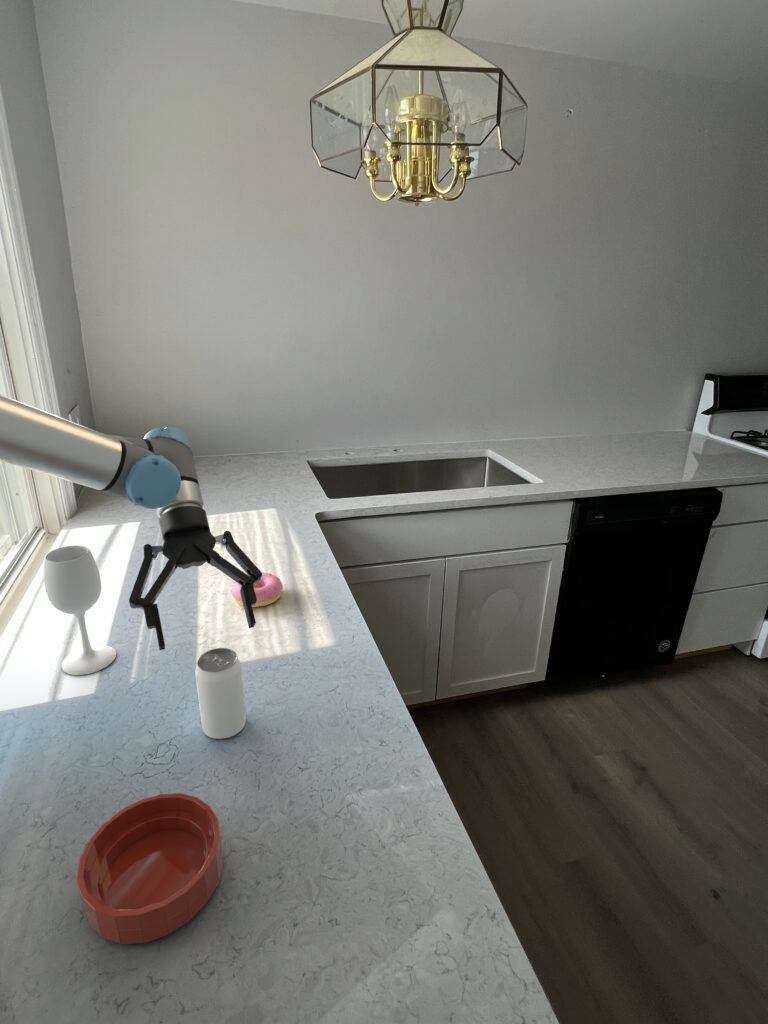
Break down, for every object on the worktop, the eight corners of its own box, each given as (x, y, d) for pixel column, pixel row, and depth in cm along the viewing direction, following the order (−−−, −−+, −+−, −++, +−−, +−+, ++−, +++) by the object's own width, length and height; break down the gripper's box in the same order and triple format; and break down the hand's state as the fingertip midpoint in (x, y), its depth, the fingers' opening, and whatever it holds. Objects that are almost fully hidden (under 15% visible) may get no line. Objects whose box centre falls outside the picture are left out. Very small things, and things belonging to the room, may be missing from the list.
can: (225, 705, 89) (218, 641, 84) (255, 720, 86) (249, 654, 81) (193, 730, 83) (183, 663, 79) (224, 747, 80) (216, 678, 76)
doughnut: (282, 583, 127) (281, 566, 125) (284, 607, 117) (283, 590, 115) (232, 587, 124) (231, 570, 123) (231, 612, 114) (229, 595, 113)
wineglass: (68, 682, 93) (42, 570, 86) (57, 657, 99) (32, 551, 92) (122, 662, 98) (102, 555, 91) (108, 640, 105) (89, 538, 97)
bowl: (72, 870, 63) (63, 838, 61) (195, 803, 71) (190, 774, 70) (106, 982, 53) (97, 948, 51) (244, 889, 61) (241, 857, 59)
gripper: (252, 512, 101) (282, 623, 94) (101, 535, 91) (122, 663, 84) (258, 493, 95) (291, 610, 88) (96, 516, 84) (119, 652, 77)
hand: (209, 636), depth 86 cm, fingers open, 13 cm apart
